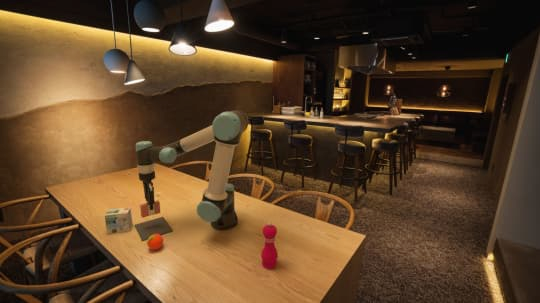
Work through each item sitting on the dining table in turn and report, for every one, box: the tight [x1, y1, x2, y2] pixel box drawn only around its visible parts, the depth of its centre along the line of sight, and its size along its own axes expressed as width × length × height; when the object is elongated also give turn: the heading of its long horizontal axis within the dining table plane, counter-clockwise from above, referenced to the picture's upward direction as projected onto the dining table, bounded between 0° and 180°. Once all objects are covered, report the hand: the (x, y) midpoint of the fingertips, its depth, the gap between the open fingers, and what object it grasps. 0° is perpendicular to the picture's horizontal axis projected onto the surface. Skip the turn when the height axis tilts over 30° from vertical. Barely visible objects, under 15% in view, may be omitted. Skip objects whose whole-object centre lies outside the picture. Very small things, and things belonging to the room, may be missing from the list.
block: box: [139, 200, 161, 219], centre depth 131 cm, size 2×9×6 cm, turn 128°
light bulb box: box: [104, 207, 134, 235], centre depth 130 cm, size 11×7×11 cm, turn 105°
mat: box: [133, 216, 174, 242], centre depth 133 cm, size 18×15×1 cm
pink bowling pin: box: [260, 221, 279, 270], centre depth 104 cm, size 7×7×20 cm
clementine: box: [145, 234, 164, 251], centre depth 115 cm, size 8×7×7 cm
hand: (151, 213), depth 131 cm, fingers closed on block, 2 cm apart
